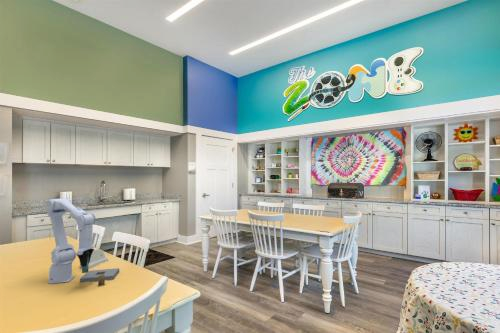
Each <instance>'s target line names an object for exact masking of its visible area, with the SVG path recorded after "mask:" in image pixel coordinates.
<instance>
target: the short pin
mask: <svg viewBox="0 0 500 333" xmlns="http://www.w3.org/2000/svg"><path fill="white" fill-rule="evenodd" d="M105 281H106V280H105V275H100V276H98V281H97V286H98V287H102V285H103V286H104V285H105Z"/></svg>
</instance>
